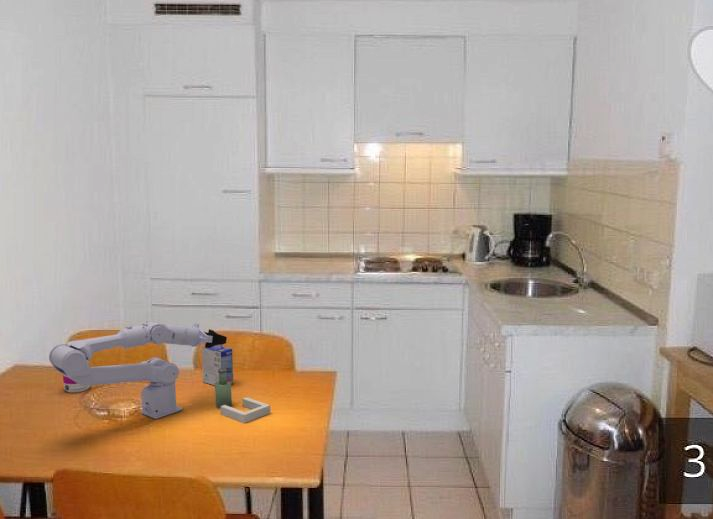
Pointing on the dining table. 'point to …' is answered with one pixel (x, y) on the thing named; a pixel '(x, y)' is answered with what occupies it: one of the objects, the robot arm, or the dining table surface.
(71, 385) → the supplement can
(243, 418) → the rest
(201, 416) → the dining table surface
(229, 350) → the ink cartridge box
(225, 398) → the bottle
